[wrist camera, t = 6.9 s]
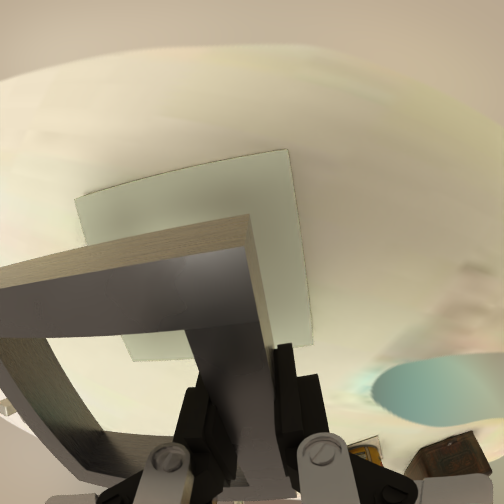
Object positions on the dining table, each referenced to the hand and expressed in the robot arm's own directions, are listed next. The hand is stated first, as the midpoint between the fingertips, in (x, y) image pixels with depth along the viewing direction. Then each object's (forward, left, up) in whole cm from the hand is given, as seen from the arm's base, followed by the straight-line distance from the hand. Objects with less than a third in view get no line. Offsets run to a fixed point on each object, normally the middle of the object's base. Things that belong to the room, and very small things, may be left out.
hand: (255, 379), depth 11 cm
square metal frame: (+5, 0, 0) cm, 5 cm away
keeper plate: (+5, 0, -13) cm, 14 cm away
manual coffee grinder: (-20, +38, -13) cm, 45 cm away
